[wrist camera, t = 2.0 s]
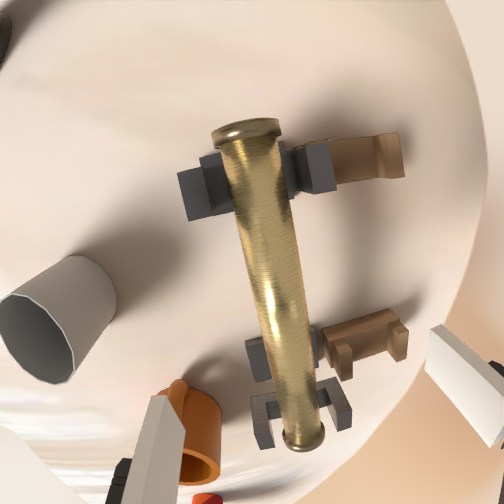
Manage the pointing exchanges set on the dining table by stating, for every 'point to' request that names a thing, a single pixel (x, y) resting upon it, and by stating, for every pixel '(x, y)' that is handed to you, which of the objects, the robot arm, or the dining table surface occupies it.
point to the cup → (57, 318)
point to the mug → (197, 433)
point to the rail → (273, 271)
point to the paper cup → (207, 499)
